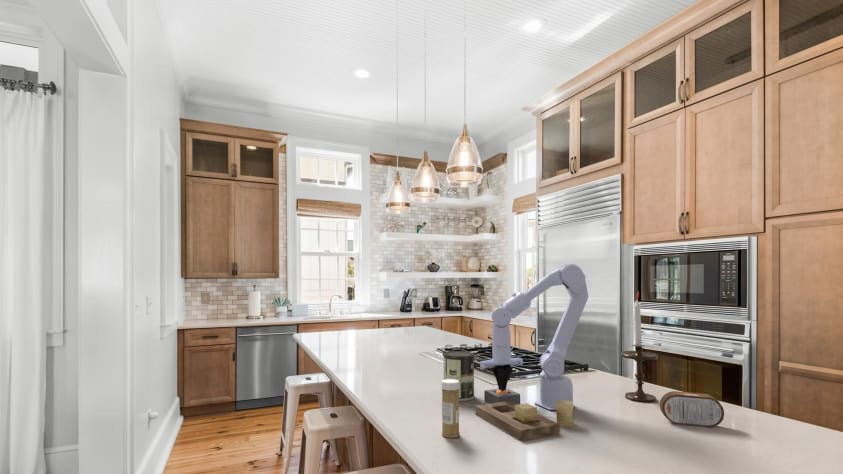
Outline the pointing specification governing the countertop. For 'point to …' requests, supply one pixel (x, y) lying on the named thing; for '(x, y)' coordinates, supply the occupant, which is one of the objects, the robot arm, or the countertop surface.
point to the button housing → (501, 396)
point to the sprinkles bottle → (450, 408)
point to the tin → (692, 409)
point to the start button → (501, 392)
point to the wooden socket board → (505, 420)
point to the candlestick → (639, 360)
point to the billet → (525, 413)
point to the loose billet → (564, 413)
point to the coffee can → (460, 372)
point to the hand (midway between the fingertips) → (502, 389)
